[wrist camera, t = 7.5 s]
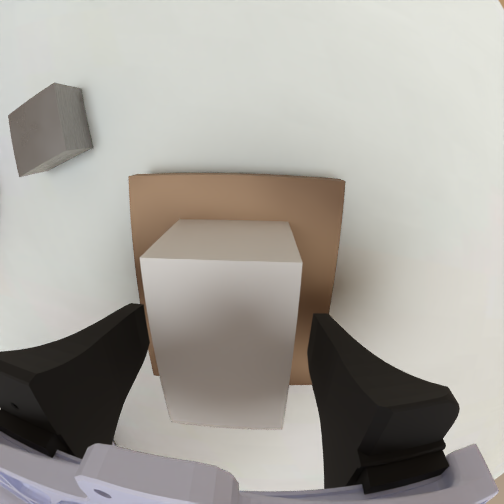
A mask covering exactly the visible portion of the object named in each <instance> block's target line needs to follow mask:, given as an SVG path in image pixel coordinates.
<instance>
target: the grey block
mask: <svg viewBox="0 0 504 504" xmlns="http://www.w3.org/2000/svg"><path fill="white" fill-rule="evenodd" d="M8 118H9V125H10V132H11V138H12V144H13V149H14V155H15V160H16V164H17V169H18V173H19V177H22V176H27V175H31V174H35V173H40V172H44V171H48V170H50V169H52V168H54V167H56V166H57V165H59V164H61V163H63V162H65V161H67V160H69V159H71V158H73V157H75V156H77V155H79V154H81V153H84V152H86V151H88V150H90V149H92V148H93V144H92V140H91V136H90V131H89V126H88V122H87V117H86V112H85V107H84V102H83V96H82V90H81V89H80V88H76V87H72V86H67V85H62V84H57V83H53V84H51V85H50V86H48V87H47V88H45V89H44V90H42V91H41V92H39V93H38V94H37V95H35V96H34V97H32V98H31V99H29V100H28V101H27V102H25V103H24V104H23V105H21V106H20V107H19V108H17V109H16V110H15V111H13V112H12V113H11V114H10V115H8Z"/></svg>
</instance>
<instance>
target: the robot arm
mask: <svg viewBox="0 0 504 504" xmlns="http://www.w3.org/2000/svg"><path fill="white" fill-rule="evenodd" d="M149 344H150V340H149V335H148V329H147V323H146V317H145V311H144V304H133V303H131V304H128V305H126V306H124V307H122V308H121V309H119V310H117V311H115V312H114V313H112V314H110V315H109V316H107V317H105V318H104V319H102V320H100V321H98V322H97V323H95V324H93V325H91V326H89V327H87V328H85V329H83V330H81V331H79V332H77V333H75V334H73V335H70V336H68V337H66V338H63V339H60V340H57V341H54V342H51V343H48V344H45V345H41V346H37V347H33V348H28V349H22V350H14V351H4V352H0V408H1V410H0V504H485V503H487V502H488V501H489V500H490V499H491V498H493V497H494V496H495V495H496V494H497V493H498V491H499V490H498V488H497V486H496V484H495V481H494V479H493V477H492V475H491V473H490V471H489V469H488V467H487V464H486V462H485V460H484V458H483V456H482V454H481V453H480V451H479V449H478V447H477V445H476V444H472V445H469V446H467V447H464V448H461V449H459V450H456V451H453V452H451V453H450V454H448V455H447V456H446V457H445V455H444V452H443V450H444V449H445V447H446V444H445V442H444V440H443V438H444V436H445V435H446V433H447V432H448V431H449V429H450V428H451V426H452V425H453V423H454V422H455V420H456V418H457V416H458V413H459V409H460V408H459V404H458V402H457V401H456V399H455V397H454V396H453V394H452V392H451V391H450V389H449V388H448V387H446V386H442V385H439V384H435V383H431V382H428V381H425V380H422V379H420V378H417V377H414V376H412V375H410V374H407V373H405V372H403V371H401V370H399V369H397V368H395V367H393V366H391V365H390V364H388V363H386V362H384V361H383V360H381V359H380V358H378V357H377V356H375V355H374V354H372V353H371V352H370V351H368V350H367V349H366V348H364V347H363V346H362V345H361V344H359V343H358V342H357V341H356V340H355V339H354V338H353V337H351V336H350V335H349V334H348V333H347V332H346V331H345V330H344V329H343V328H342V327H341V326H340V325H339V324H338V323H337V322H336V321H335V320H334V319H333V318H332V317H331V316H330V315H329V314H327V313H313V318H312V324H311V331H310V337H309V343H308V349H307V357H308V367H309V374H310V378H311V382H312V386H313V390H314V394H315V399H316V403H317V407H318V411H319V417H320V423H321V433H322V445H323V459H324V489H319V490H305V491H276V492H265V491H239V483H238V482H237V480H236V479H235V477H234V476H233V475H232V474H231V473H229V472H227V471H225V470H223V469H221V468H219V467H217V466H213V465H209V464H204V463H200V462H195V461H187V460H181V459H174V458H168V457H163V456H157V455H152V454H147V453H142V452H138V451H134V450H129V449H125V448H121V447H117V446H115V444H114V442H113V438H114V434H115V430H116V427H117V423H118V420H119V416H120V413H121V410H122V407H123V404H124V402H125V399H126V397H127V395H128V393H129V391H130V389H131V387H132V385H133V383H134V381H135V379H136V376H137V374H138V372H139V370H140V368H141V366H142V364H143V362H144V360H145V357H146V354H147V350H148V347H149Z"/></svg>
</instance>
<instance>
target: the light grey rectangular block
mask: <svg viewBox="0 0 504 504" xmlns="http://www.w3.org/2000/svg"><path fill="white" fill-rule="evenodd" d="M302 264H303V262H302V259H301V256H300V254H299V251H298V248H297V245H296V242H295V239H294V236H293V233H292V231H291V228H290V225H289V222H285V221H251V220H197V219H179V220H178V221H177V222H176V223H175V224H174V225H173V226H172V227H171V228H170V229H169V230H168V231H166V232H165V233H164V234H163V235H162V236H161V237H160V238H159V239H158V240H157V241H156V242H155V243H154V244H153V245H152V246H151V247H150V248H149V249H148V250H147V251H146V252H145V253H144V254H143V255H142V256H141V257H140V265H141V273H142V281H143V288H144V295H145V302H146V308H147V314H148V320H149V326H150V331H151V337H152V342H153V347H154V352H155V357H156V362H157V366H158V371H159V375H160V380H161V384H162V388H163V392H164V396H165V400H166V404H167V408H168V412H169V416H170V419H171V422H174V423H182V424H190V425H199V426H209V427H221V428H237V429H273V430H277V429H282V428H283V422H284V415H285V409H286V402H287V395H288V388H289V381H290V374H291V366H292V358H293V350H294V342H295V334H296V325H297V316H298V306H299V296H300V286H301V275H302Z"/></svg>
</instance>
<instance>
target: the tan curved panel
mask: <svg viewBox="0 0 504 504" xmlns="http://www.w3.org/2000/svg"><path fill="white" fill-rule="evenodd" d="M344 192H345V181H343V180H341V179H333V178H321V177H307V176H291V175H271V174H242V173H161V174H136V175H132V176H129V198H130V214H131V228H132V239H133V250H134V259H135V268H136V276H137V284H138V291H139V298H140V304H144V311H145V317H146V323H147V329H148V335H149V340H150V344H149V347H148V350H149V355H150V360H151V364H152V369H153V373H154V375H156V376H160V375H159V371H158V366H157V362H156V357H155V352H154V347H153V342H152V337H151V331H150V326H149V320H148V314H147V308H146V302H145V295H144V288H143V281H142V273H141V265H140V257H141V256H142V255H143V254H144V253H145V252H146V251H147V250H148V249H149V248H150V247H151V246H152V245H153V244H154V243H155V242H156V241H157V240H158V239H159V238H160V237H161V236H162V235H163V234H164V233H165V232H166V231H168V230H169V229H170V228H171V227H172V226H173V225H174V224H175V223H176V222H177V221H178V220H179V219H197V220H251V221H285V222H289V225H290V228H291V231H292V233H293V236H294V239H295V242H296V245H297V248H298V251H299V254H300V256H301V259H302V262H303V264H302V275H301V286H300V296H299V306H298V316H297V325H296V334H295V342H294V350H293V358H292V366H291V374H290V381H289V385H312V382H311V378H310V374H309V367H308V357H307V349H308V343H309V337H310V331H311V324H312V318H313V313H327V314H329V309H330V303H331V297H332V290H333V284H334V277H335V270H336V263H337V256H338V248H339V240H340V231H341V223H342V213H343V203H344Z"/></svg>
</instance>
